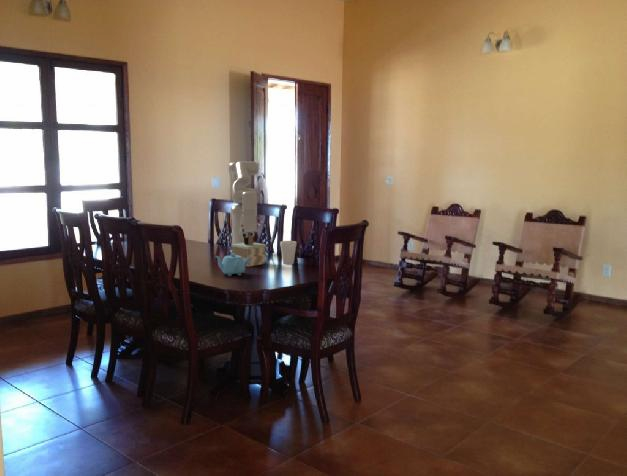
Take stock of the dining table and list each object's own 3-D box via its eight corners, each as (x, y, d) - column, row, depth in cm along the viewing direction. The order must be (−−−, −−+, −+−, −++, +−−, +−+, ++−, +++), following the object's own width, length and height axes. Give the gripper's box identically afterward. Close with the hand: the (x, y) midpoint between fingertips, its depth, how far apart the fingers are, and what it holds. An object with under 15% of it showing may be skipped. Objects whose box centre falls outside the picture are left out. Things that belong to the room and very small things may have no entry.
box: (249, 260, 331) (249, 244, 330) (265, 263, 323) (265, 246, 321) (232, 263, 321) (232, 246, 320) (248, 266, 312) (248, 249, 311)
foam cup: (298, 262, 325) (298, 241, 323) (291, 265, 317) (291, 243, 315) (284, 261, 329) (284, 240, 327) (277, 264, 321) (277, 242, 319)
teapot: (236, 278, 280) (236, 256, 278) (214, 275, 285) (214, 254, 284) (251, 273, 294) (251, 252, 292) (230, 270, 299) (230, 250, 298)
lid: (249, 245, 331) (249, 232, 330) (266, 248, 322) (266, 235, 320) (231, 248, 320) (231, 235, 319) (248, 251, 311) (248, 237, 309)
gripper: (254, 211, 326) (254, 241, 329) (233, 213, 314) (233, 244, 316) (263, 212, 322) (263, 242, 324) (242, 214, 309) (242, 246, 312)
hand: (248, 243), depth 320 cm, fingers closed on lid, 3 cm apart
